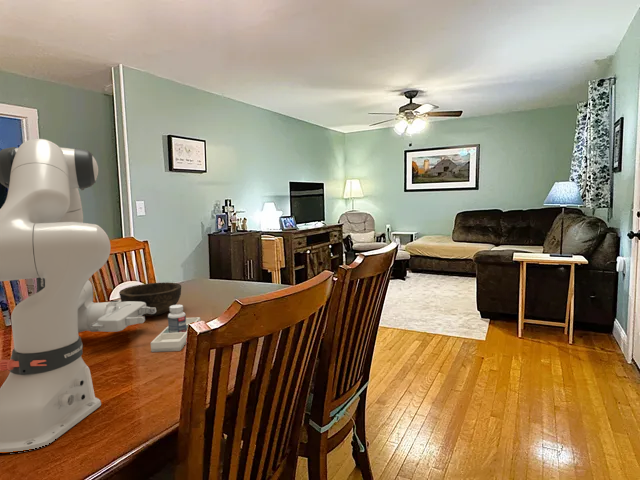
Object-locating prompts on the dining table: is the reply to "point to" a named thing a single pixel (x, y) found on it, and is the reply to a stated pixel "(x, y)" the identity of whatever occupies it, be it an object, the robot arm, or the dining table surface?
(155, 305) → the bowl
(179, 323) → the pill bottle
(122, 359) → the dining table surface
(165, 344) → the white plastic tray
